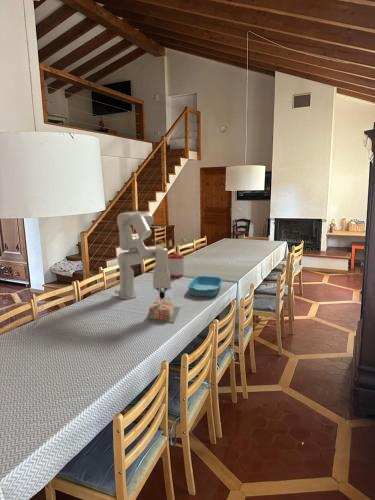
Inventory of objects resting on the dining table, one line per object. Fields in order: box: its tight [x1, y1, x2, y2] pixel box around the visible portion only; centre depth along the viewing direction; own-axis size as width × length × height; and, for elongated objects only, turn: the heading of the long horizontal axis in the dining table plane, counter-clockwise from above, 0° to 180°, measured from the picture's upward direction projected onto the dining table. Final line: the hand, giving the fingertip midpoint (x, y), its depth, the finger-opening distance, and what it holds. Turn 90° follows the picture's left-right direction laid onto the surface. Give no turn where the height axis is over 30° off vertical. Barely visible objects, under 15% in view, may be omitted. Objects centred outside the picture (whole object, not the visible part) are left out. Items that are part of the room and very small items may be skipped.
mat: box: [149, 306, 181, 324], centre depth 219 cm, size 14×26×1 cm, turn 173°
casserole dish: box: [187, 275, 223, 298], centre depth 266 cm, size 37×22×7 cm, turn 166°
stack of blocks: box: [148, 297, 174, 320], centre depth 219 cm, size 21×6×12 cm
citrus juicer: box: [168, 252, 186, 278], centre depth 306 cm, size 16×17×20 cm
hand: (162, 298), depth 217 cm, fingers closed
